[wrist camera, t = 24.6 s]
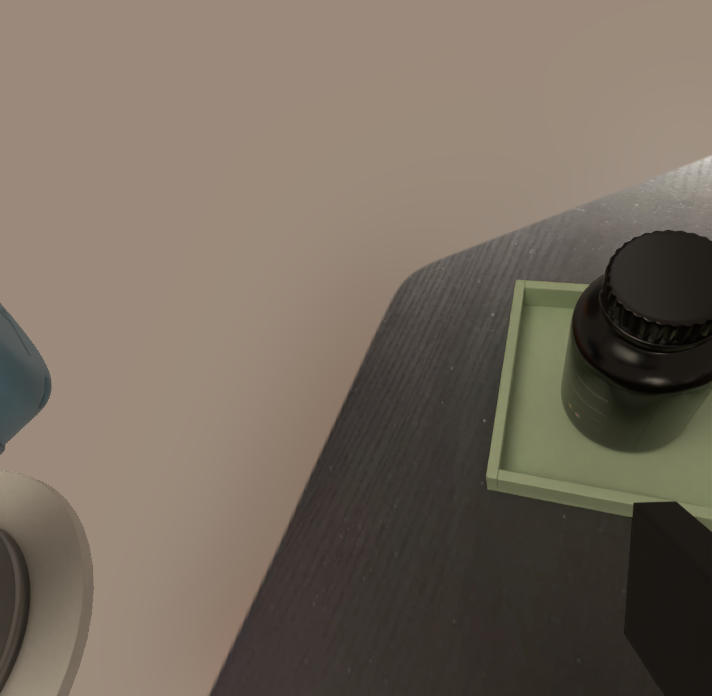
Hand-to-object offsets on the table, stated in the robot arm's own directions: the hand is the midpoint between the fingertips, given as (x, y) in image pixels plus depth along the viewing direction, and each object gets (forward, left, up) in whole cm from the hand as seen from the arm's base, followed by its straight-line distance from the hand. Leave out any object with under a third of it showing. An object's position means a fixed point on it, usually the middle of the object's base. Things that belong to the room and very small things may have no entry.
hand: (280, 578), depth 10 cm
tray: (+9, +14, -21) cm, 27 cm away
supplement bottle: (+9, +14, -21) cm, 27 cm away
